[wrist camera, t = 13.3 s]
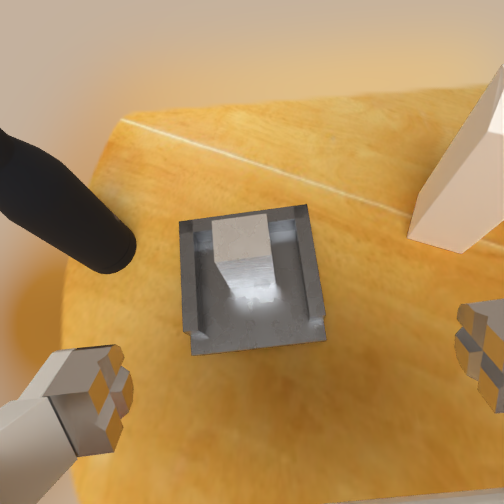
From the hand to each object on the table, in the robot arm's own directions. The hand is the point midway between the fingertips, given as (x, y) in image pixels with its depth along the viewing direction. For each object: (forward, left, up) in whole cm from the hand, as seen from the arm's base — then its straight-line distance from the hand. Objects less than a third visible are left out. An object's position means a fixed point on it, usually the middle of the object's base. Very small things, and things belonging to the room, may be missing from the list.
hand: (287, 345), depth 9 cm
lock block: (-4, -12, -30) cm, 33 cm away
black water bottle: (+8, -24, -32) cm, 41 cm away
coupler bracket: (-3, -10, -31) cm, 33 cm away
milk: (-24, -3, -32) cm, 40 cm away
